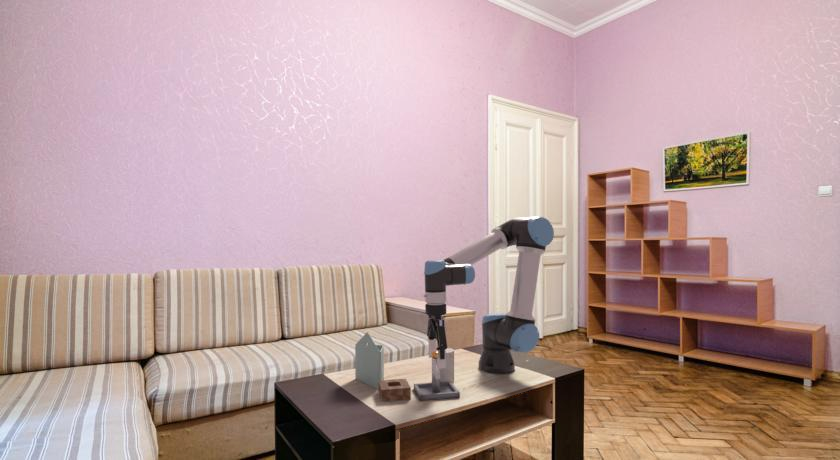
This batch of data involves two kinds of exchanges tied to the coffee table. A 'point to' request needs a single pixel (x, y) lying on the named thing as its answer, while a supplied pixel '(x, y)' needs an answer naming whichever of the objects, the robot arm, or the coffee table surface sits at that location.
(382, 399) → the block
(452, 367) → the white cylinder
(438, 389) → the pin
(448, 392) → the tray
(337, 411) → the coffee table surface
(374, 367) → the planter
